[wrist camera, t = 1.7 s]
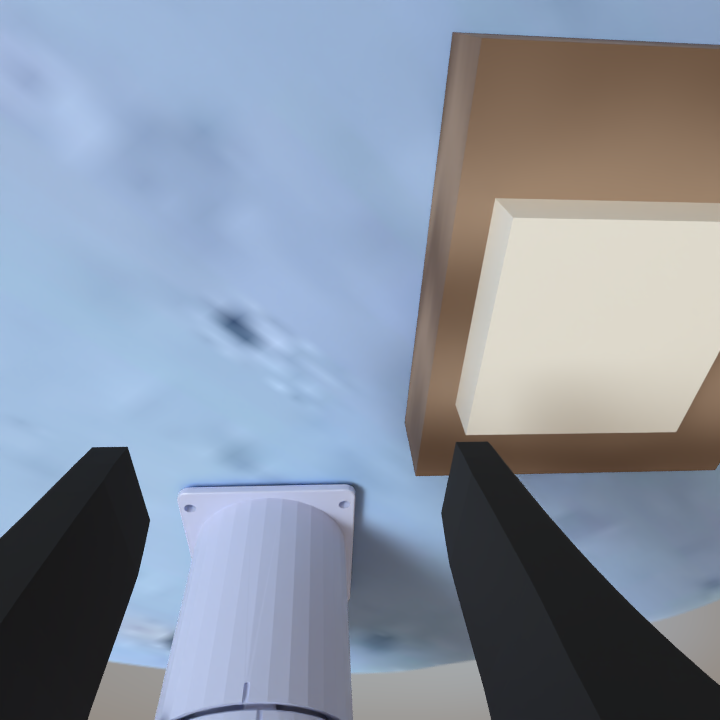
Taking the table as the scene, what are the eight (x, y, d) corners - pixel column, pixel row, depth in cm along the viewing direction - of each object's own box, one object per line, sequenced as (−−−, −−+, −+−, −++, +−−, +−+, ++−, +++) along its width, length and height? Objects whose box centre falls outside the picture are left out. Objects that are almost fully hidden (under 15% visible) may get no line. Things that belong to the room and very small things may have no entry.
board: (672, 419, 22) (715, 470, 20) (404, 422, 22) (415, 475, 19) (863, 51, 15) (974, 60, 12) (452, 32, 14) (481, 38, 11)
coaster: (651, 402, 18) (676, 432, 17) (455, 404, 17) (465, 435, 16) (746, 203, 14) (788, 223, 13) (495, 198, 13) (513, 217, 12)
